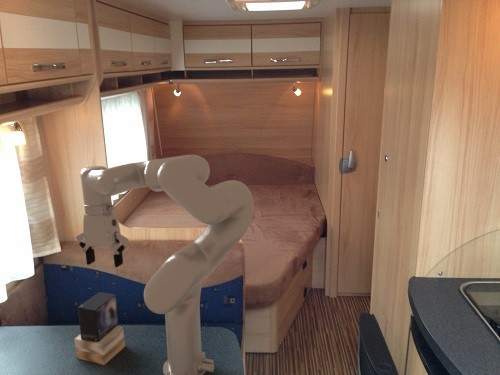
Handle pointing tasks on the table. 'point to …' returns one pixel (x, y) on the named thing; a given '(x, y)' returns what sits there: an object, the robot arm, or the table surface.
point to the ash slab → (100, 342)
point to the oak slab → (101, 358)
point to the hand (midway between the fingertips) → (104, 264)
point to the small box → (98, 316)
